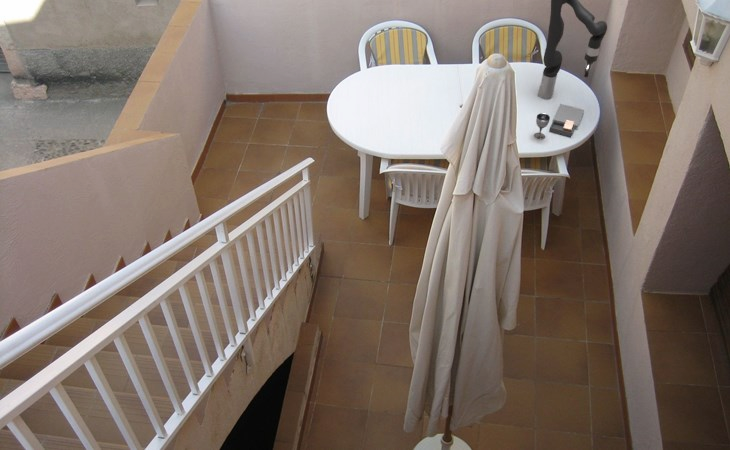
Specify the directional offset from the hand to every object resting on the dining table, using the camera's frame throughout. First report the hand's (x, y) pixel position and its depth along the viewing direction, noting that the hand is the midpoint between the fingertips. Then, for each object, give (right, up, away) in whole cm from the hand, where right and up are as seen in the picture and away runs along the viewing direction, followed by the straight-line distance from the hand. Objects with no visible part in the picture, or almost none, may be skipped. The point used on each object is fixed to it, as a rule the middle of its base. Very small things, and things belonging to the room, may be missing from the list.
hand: (586, 76), depth 433 cm
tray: (-13, -33, +9) cm, 36 cm away
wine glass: (-28, -37, +5) cm, 47 cm away
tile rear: (-8, -30, +8) cm, 32 cm away
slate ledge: (-6, -24, +18) cm, 30 cm away
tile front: (-10, -31, +5) cm, 33 cm away
